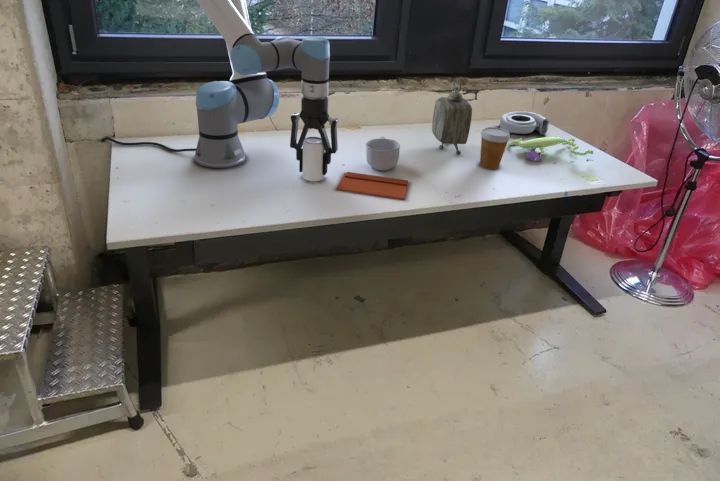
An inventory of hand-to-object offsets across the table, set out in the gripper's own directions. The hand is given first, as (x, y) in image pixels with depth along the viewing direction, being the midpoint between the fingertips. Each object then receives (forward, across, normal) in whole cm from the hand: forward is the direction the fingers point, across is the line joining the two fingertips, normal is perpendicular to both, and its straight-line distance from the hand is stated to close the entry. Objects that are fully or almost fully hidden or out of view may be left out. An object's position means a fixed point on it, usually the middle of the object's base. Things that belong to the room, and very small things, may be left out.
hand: (313, 171), depth 162 cm
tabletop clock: (+2, +38, +39) cm, 55 cm away
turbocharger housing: (+2, +66, +72) cm, 98 cm away
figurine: (+2, +75, +48) cm, 90 cm away
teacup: (+2, +18, +17) cm, 25 cm away
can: (+2, 0, 0) cm, 2 cm away
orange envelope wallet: (+2, +18, 0) cm, 19 cm away
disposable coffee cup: (+2, +53, +29) cm, 61 cm away
